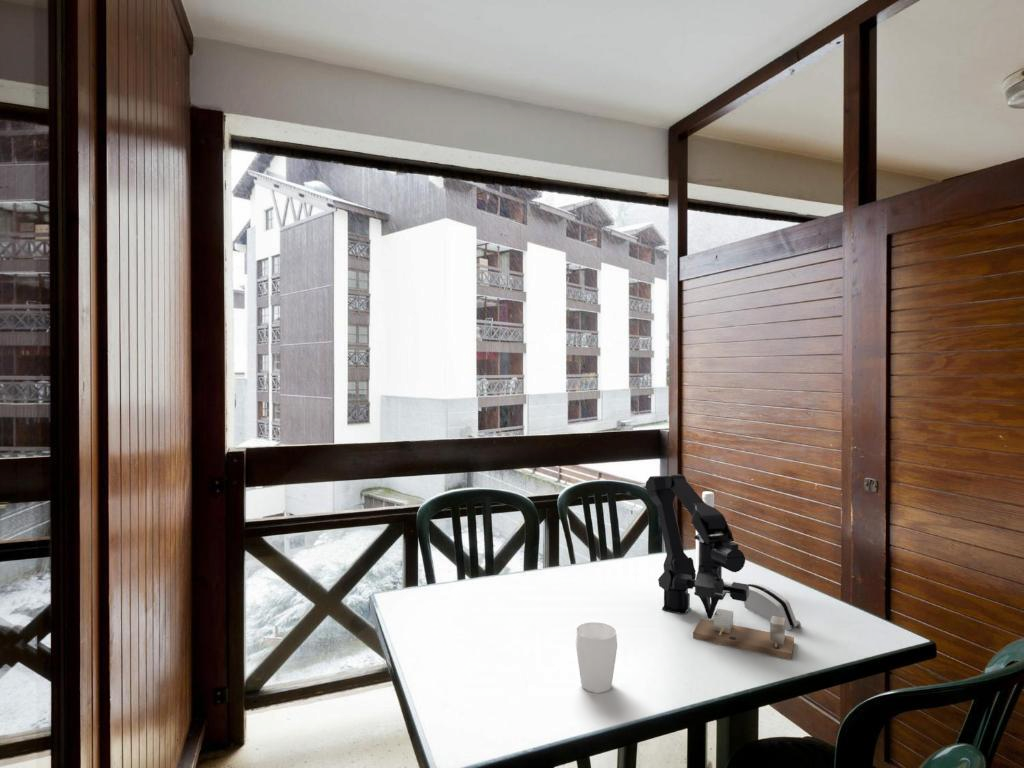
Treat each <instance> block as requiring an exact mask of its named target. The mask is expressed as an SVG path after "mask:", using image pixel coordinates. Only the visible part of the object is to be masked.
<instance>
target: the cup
mask: <svg viewBox="0 0 1024 768" xmlns="http://www.w3.org/2000/svg"><path fill="white" fill-rule="evenodd" d="M575 634H576V637H575V648H576V655H577V664H578V672H579V678H580V684H581V687H582V688H583V689H584V690H585V691H587V692H590V693H595V694H602V693H605V692H608V691H610V690H611V689H612V685H613V679H614V671H615V664H616V658H617V653H618V651H617V650H618V638H617V630H616V628H614V627H613V626H612V625H609V624H606V623H603V622H593V621H592V622H591V621H590V622H585V623H582V624H579V625H578V626H577V628H576V633H575Z"/></svg>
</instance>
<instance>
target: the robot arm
mask: <svg viewBox="0 0 1024 768" xmlns="http://www.w3.org/2000/svg"><path fill="white" fill-rule="evenodd" d="M645 489H646V491H647V495H648V497H649V500H651V501H652V503H653V504H654V505H655V506H656V510H657V516H658V519H659V524H660V529H661V533H662V538H663V543H664V547H665V548H664V549H665V552H666V556H665V559H664V563H663V573H662V574H661V575H660V576H659V577H658V579H657V581H658V586H659V587H660V588H661V589H663V606H662V609H661V610H662V611H668V612H672V613H677V614H682V615H686V613H687V611H688V610H689V609H690V607H691V606H690V605H691V604H690V603H691V602H690V601H691V593H689V590H693V588H694V592H693V594H694V596H696V597H698V598H699V599H700V601H701V603H702V605H703V608H704V611H705V613H706V616H707V620H712V619H713V617H714V614H715V612H716V608H717V604H718V602H719V600H720V601H723V600H724V599H725V596H726V595H727V594H729V596H730V597H731V599H732V600H735V601H740V602H744V601H747V598H748V596H749V587H748V585H747V584H748V583H741V582H736V581H733V582H732V583H731V585H728V584H725V581H724V578H722V577H723V574H722V572H723V569H726V570H728V571H730V572H731V573H737V572H740V571H741V570H742V569H743V568H744V566H745V564H746V557H745V554H744V552H742V550H740V549H739V544H737V543H734V541H735V539H734V537H733V533H732V531H731V529H730V526H729V525H728V522H727V520H726V517H725V516H724V514H723V513H721V512H720V511H719V510H718V509H717V508H715V507H714V508H713V507H711V506H709V505H707V504H706V503H704V501H703V498H702V497H701V496H699V494H698V493H697V492H696V491H695V489H694V488H693V487H692V486H691V485H690V484H689V482H688V481H687V479H686V477H685V476H684V474H681V473H680V474H679V473H678V474H676V473H675V474H668V475H654V476H649V477H648V479H647V480H646V482H645ZM676 498H677V499H678V500H679V501H680V502H681V504H682V505H683V506H684V508H685V509H686V510H687V511H688V512H689V514H690V516H691V524H692V525H693V527H694V529H695V532H696V531H697V532H698V533H699V534H697V535H696V534H695V536H694V540H696V539H697V540H699V568H698V573H697V576H696V573H695V572H696V567H695V566H694V565H695V564H694V559H693V558H692V557H689V556H687V554H686V553H685V552H684V551H685V550H684V547H683V543H682V538H681V532H680V527H679V525H678V520H677V514H676V511H675V506H674V502H675V499H676ZM715 534H721V535H717V536H710V535H715ZM722 568H723V569H722Z"/></svg>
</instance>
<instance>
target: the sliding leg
mask: <svg viewBox="0 0 1024 768" xmlns="http://www.w3.org/2000/svg"><path fill="white" fill-rule="evenodd" d="M716 608H717V607H716ZM713 621H714V630H715V631H720V633H719V635H720V636H721V635H722V633H723V632H725V633H729V634H730V633H731V630H732V628H733V625H734V611H733V610H728V609H723V608H717V609H715V611H714V614H713Z"/></svg>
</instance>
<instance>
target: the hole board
mask: <svg viewBox="0 0 1024 768" xmlns="http://www.w3.org/2000/svg"><path fill="white" fill-rule="evenodd" d="M719 633H720V631H715V630H714V620H712V619H708V618H707V619H706V618H700V619H699V621H698V623H697V624H696V626H695V628H694V630H693V631H692V638H693V639H695V640H699V641H700V640H701V641H704V642H709V643H713V644H714V643H715V644H719V645H724V646H727V647H731V648H737V649H742V650H746V651H750V652H755V653H759V654H764V655H769V656H772V657H777V658H783V659H787V660H792V657H793V652H794V644H795V637H794V636H789V635H786V629H785V618H782V617H777V616H772V618H771V621H769V631H765V630H760V629H755V628H751V627H745V626H740V625H737V624H736V625H735V624H733V628H732V630H731V633H730V634H729V633H725V632H723V633H722V635H721V636H720V635H719Z"/></svg>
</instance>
